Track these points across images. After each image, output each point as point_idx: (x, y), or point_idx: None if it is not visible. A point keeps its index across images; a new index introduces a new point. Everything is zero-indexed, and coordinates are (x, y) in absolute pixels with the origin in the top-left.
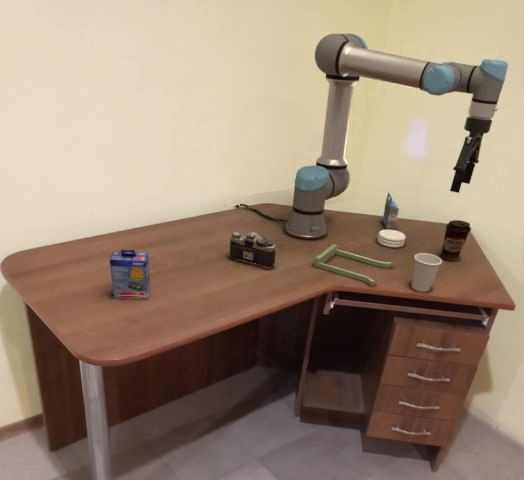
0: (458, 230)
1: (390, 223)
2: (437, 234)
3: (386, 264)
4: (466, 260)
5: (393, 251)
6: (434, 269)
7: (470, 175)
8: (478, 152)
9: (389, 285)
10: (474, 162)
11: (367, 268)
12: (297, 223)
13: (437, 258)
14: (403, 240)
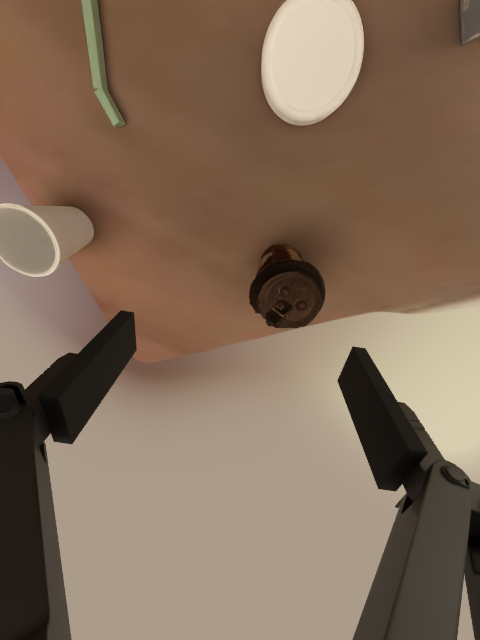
0: (252, 298)
1: (475, 3)
2: (446, 213)
3: (106, 111)
4: None
5: (238, 103)
6: (24, 261)
7: (353, 411)
8: (471, 611)
9: (23, 154)
10: (407, 493)
11: (61, 54)
12: None
13: (53, 263)
14: (289, 119)
